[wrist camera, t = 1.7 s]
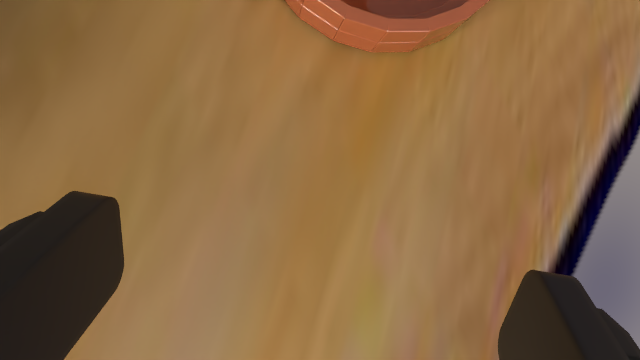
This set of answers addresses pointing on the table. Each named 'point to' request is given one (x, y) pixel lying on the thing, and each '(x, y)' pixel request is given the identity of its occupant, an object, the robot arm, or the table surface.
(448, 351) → the table surface
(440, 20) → the terracotta plant saucer
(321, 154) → the table surface
